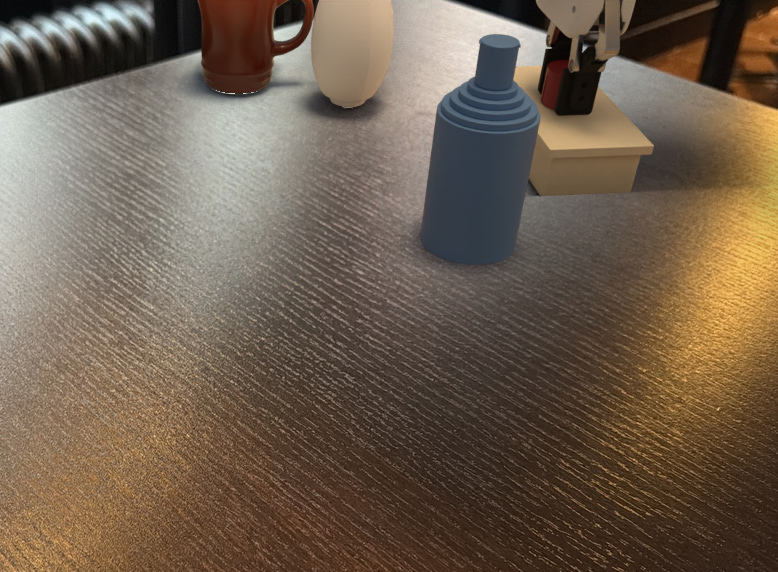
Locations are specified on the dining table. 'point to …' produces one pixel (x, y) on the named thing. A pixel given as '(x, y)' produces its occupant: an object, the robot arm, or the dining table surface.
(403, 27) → the dining table surface
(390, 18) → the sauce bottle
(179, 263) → the dining table surface
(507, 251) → the bottle
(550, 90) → the cap
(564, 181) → the sill
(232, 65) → the mug
